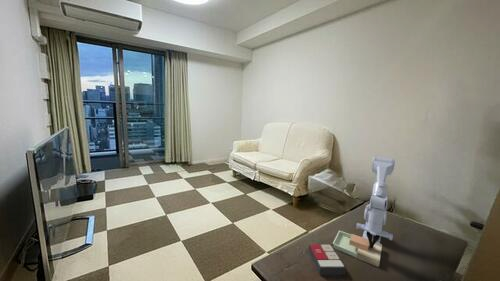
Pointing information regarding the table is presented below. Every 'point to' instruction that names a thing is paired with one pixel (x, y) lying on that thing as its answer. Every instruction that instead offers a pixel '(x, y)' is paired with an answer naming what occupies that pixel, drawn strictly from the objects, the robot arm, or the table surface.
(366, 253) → the bench plate
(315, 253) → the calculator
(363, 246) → the tile
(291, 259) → the table surface
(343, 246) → the box
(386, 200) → the robot arm
